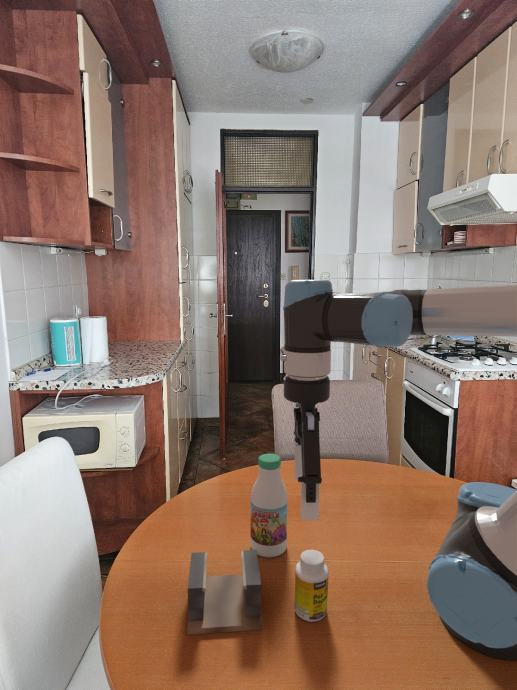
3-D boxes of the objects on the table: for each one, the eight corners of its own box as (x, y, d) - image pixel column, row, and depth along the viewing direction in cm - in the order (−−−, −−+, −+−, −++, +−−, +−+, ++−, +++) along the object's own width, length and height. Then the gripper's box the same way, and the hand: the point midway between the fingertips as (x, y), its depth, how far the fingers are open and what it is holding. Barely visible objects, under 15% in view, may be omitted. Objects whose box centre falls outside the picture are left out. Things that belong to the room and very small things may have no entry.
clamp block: (256, 578, 82) (256, 544, 81) (262, 629, 70) (262, 591, 69) (192, 581, 81) (191, 547, 80) (187, 634, 69) (186, 595, 68)
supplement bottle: (313, 629, 70) (314, 572, 68) (287, 610, 74) (288, 556, 72) (333, 611, 74) (335, 557, 72) (308, 594, 78) (309, 542, 76)
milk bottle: (251, 535, 95) (251, 449, 92) (286, 536, 95) (287, 450, 92) (249, 558, 88) (249, 465, 84) (287, 559, 87) (289, 466, 84)
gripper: (280, 360, 83) (280, 465, 86) (288, 396, 58) (287, 540, 62) (319, 360, 83) (318, 465, 86) (343, 396, 58) (340, 540, 62)
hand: (305, 496), depth 74 cm, fingers open, 13 cm apart
